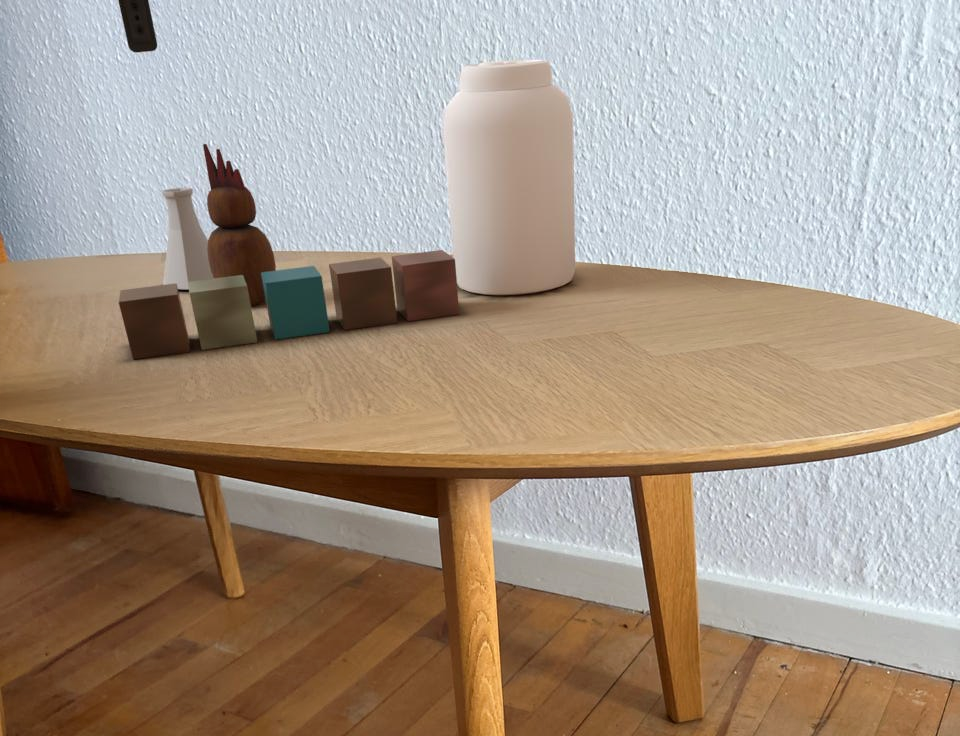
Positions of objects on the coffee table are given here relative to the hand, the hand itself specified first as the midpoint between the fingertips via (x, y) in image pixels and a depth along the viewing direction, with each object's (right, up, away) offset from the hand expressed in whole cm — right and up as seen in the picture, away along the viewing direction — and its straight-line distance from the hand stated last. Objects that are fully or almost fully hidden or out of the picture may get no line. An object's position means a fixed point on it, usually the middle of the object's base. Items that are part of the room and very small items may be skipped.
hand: (144, 51), depth 82 cm
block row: (+11, -19, +11) cm, 25 cm away
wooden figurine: (+3, -13, +22) cm, 26 cm away
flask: (-5, -8, +32) cm, 33 cm away
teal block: (+11, -19, +11) cm, 25 cm away
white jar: (+31, -11, +22) cm, 40 cm away
